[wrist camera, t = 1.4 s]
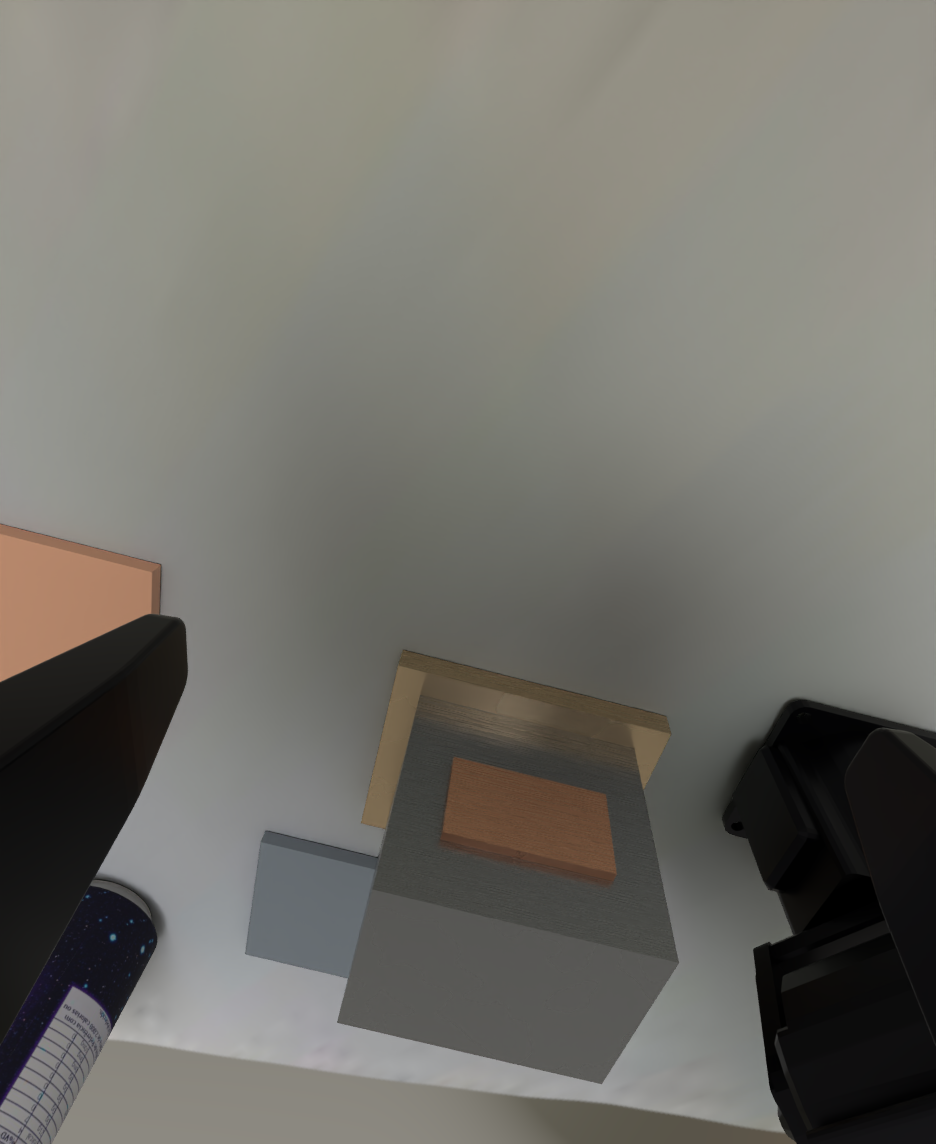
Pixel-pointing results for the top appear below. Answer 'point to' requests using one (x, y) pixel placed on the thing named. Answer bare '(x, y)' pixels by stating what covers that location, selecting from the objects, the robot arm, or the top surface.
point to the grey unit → (511, 872)
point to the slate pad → (308, 904)
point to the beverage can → (72, 1011)
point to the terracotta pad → (65, 596)
